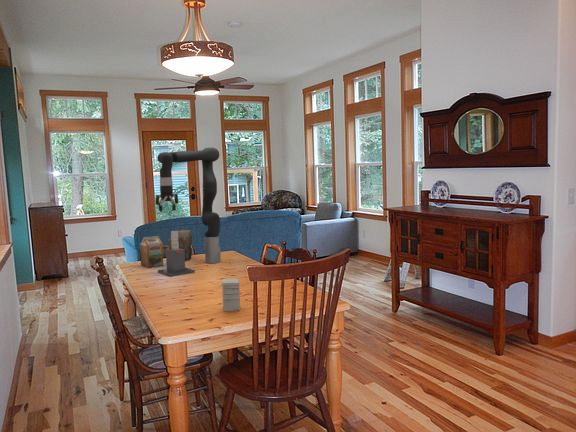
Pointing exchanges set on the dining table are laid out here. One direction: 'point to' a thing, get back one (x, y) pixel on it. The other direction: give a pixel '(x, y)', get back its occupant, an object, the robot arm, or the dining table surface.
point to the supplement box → (231, 295)
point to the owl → (185, 243)
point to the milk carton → (151, 252)
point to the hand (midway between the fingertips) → (167, 211)
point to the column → (174, 240)
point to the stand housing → (175, 263)
